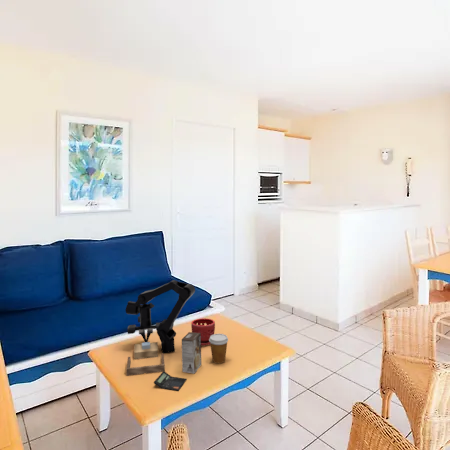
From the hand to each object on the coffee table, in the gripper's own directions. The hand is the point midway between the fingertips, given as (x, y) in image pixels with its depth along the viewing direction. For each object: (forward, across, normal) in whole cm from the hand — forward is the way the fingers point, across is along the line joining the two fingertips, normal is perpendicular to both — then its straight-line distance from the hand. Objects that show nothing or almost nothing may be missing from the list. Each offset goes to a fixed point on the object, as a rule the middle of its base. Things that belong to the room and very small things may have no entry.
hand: (146, 343), depth 191 cm
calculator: (+3, -11, +39) cm, 41 cm away
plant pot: (+3, -31, 0) cm, 31 cm away
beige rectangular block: (+3, 0, +7) cm, 8 cm away
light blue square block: (-1, 0, +8) cm, 8 cm away
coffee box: (+3, -22, +28) cm, 35 cm away
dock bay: (+2, 0, +21) cm, 21 cm away
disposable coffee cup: (+3, -36, +23) cm, 42 cm away
